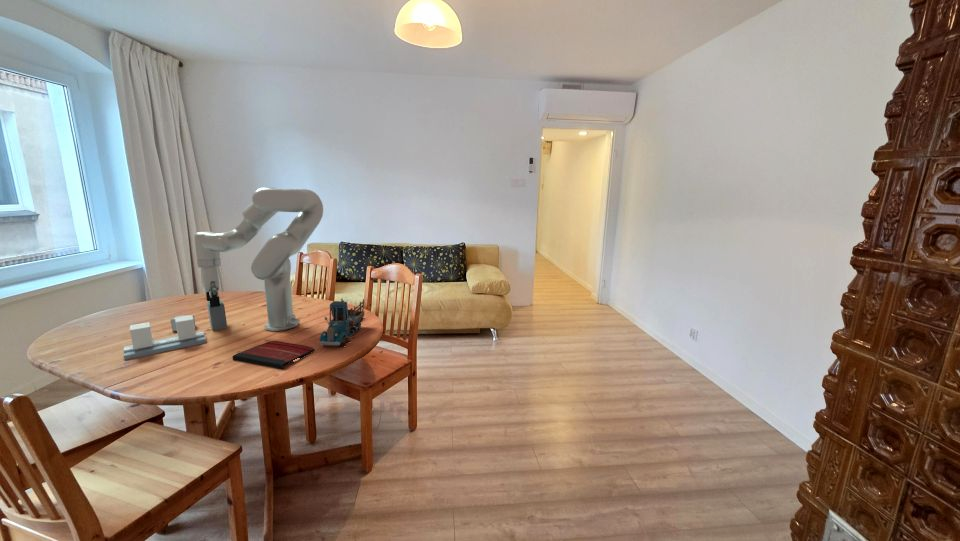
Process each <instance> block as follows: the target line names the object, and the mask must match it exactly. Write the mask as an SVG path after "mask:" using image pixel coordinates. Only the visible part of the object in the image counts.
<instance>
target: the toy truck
mask: <svg viewBox="0 0 960 541" xmlns="http://www.w3.org/2000/svg"><path fill="white" fill-rule="evenodd" d="M340 300H341V301H339V300H336V301H332V302H331V303H330V304H329V321H328V317H327V316H324V320H325V321H326V322H325V323H326V324H327V325H328V327H327V330H326V331H325V330H323V331H322V332H321V333H320V336H319V345H322V346H323V347H328V346H336V347H337V346H338V347H339V348H342V347H343V348H345V347H344V346H347V344H349V343H348V342H351V340H349V339H350V338H352V337H353V336H354V335H355V333H356V332H358V331H360V330H361V328H362V323H363V321H364V320H365V310H364V308H365V307H364V306H365V299H364V298H363V299H362V301H359V304H358V305H357V306H354V307H353V308H352V307H351V308H349V307H348V302H347V301H345V300H343V298H342V297H341V299H340ZM348 308H349V309H348ZM359 329H360V330H359ZM345 338H346V339H348V340H345Z"/></svg>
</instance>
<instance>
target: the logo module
mask: <svg viewBox="0 0 960 541" xmlns="http://www.w3.org/2000/svg"><path fill="white" fill-rule="evenodd" d="M206 307H207V312H208V318H209V325H210V328H211V330H212V331H217V330H221V329H222V330H223V329H227V328H228V323H227V322H228V321H227V315H226V309H225V303H224V302H223V301H222V300H221V299H220V306H218V307H210V301H207V303H206Z"/></svg>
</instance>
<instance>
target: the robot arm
mask: <svg viewBox="0 0 960 541" xmlns="http://www.w3.org/2000/svg"><path fill="white" fill-rule="evenodd" d="M251 201H252V202H250V204H248V205H247V206H246V207H245V208H244V209H243V211H242V216H243V220H242V221H241V222H240V223H239V224H238V225H236V227H235V228H234V229H232V230H229V231H224V232H220V233H217V232H214V231H198V232H195V233H194V234H193V236H194V248H195V254H196V262H197V263H196V264H197V268H199V269H200V276H201V288H202V290H203V291H204V293H205V298H206V301H207V302H210V307H218V306H220V300H221V299H220V296H219V295H220V294H219V291H220V277H219V276H220V275H219V267H221V266H222V264H221V254H220V253H227V252H231V251H235V250H238V249H241V248H243V247H245V246H247V245H248V243H249V242H250V241H252V240H253V239H254V238H255V237H256V236H257V235H258V234H259V232H260V231H261V229H262V228H263V226H264V225H266V223H268V221H269V220H271V218H273V217H274V216H275V215H276V214H278V213H279V212H280V213H298V214H297V215H296V216H295V217H294V218H293V220H292V221H291V222H290V224H289V225H288V227H287V228H286V229H285V230H284V231H282V232H280V233H277V234H273V235H272V236H271V237H270V238H269V239H268V240H267V241H266V242H265V244H264V245H263V246H262V248H261V249H260V250H259V252H258V253H257V255H256V256H255V258H254V259H253V260H252V263H251V267H250V271H251V273H252V275H253V277H255V278H256V279H258V280H259V281H260V280H261V281H263V283H264V295H265V296H264V297H265V303H266V304H265V305H266V312H267V313H266V315H267V322H266V323H265V324H264V330H267V331H271V332H280V331H287V330H290V329H292V328H295V327H296V326H298V325H299V323H301V319H300V318H296V314H294V308H293V307H294V306H293V296H292V285H291V283H292V282H291V268H292V263H291V260H290V257H292V256H294V255H297V254H298V253H299V252H300V251H301V249H303V247H304V245H305V244H306V243H307V242H308V240H309V239H310V237H311V236H312V235H313V232H315V230H316V228H317V227H318V225H319V224H320V222H321V221H322V218H323V215H324V205H323V201H322V200H321V198H320V196H319V195H318V194H317V193H316V191H315V192H314V191H313V190H311V189H306V188H305V189H304V188H302V189H297V188H296V189H293V188H276V187H259V188H258V189H256V190H255V191H254V192H253V194H252V196H251Z"/></svg>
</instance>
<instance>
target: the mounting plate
mask: <svg viewBox="0 0 960 541" xmlns="http://www.w3.org/2000/svg"><path fill="white" fill-rule="evenodd" d="M195 332H196V333H198V332H203V330H200V331H195ZM173 337H178V335H174V336H171V337H164V338H160V339H155V340H153V341H158V340H163V339H168V338H173ZM206 343H207V339H206V337H205V335H204V336H203V337H199V338H194V339H189V340H184V341H179V342H174V343H169V344H164V345H159V346H154V347H149V348H144V349H139V350H134V351H130V352H125V353H124V352H123V359H124V361H126V360H131V359H136V358H141V357H145V356H150V355H155V354H160V353H164V352H168V351H172V350H173V351H174V350H178V349H179V350H180V349H182V348H187V347H192V346H196V345H201V344H206ZM132 345H133V344H130V345H124V347H127V346H132Z"/></svg>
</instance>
